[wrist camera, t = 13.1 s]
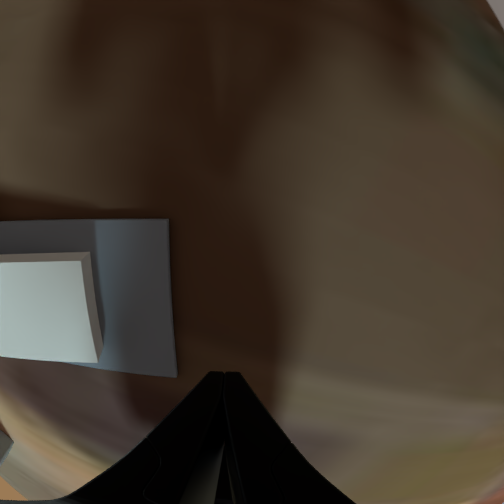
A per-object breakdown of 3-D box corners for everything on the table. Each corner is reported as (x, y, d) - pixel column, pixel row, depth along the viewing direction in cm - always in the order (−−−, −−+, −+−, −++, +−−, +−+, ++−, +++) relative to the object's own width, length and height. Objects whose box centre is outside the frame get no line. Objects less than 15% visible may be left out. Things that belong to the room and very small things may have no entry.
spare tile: (81, 260, 11) (-49, 263, 10) (97, 362, 13) (-26, 352, 11) (90, 251, 13) (-34, 255, 11) (103, 346, 14) (-14, 339, 12)
